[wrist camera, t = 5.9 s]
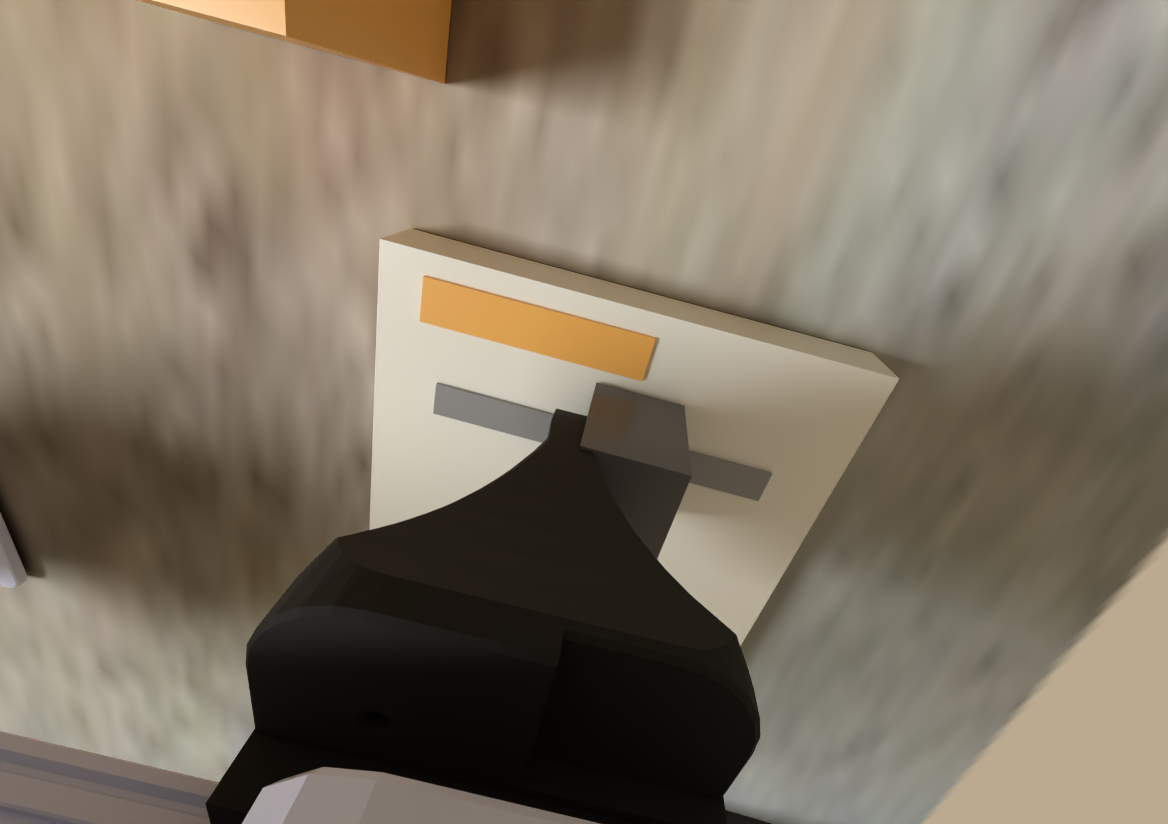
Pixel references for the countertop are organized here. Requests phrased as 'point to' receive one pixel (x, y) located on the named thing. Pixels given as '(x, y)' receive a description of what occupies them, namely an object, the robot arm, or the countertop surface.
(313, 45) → the cap
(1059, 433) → the countertop surface
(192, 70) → the countertop surface
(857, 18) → the countertop surface
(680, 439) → the block
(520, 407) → the panel
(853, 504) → the countertop surface
